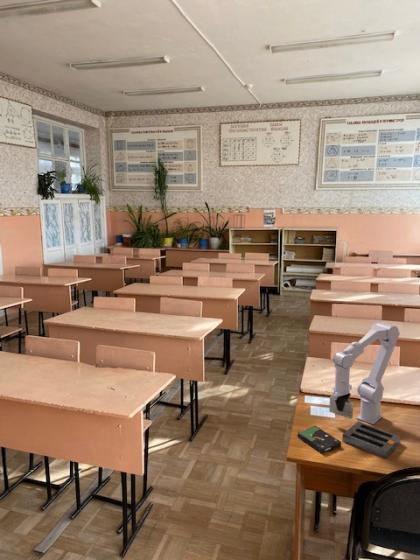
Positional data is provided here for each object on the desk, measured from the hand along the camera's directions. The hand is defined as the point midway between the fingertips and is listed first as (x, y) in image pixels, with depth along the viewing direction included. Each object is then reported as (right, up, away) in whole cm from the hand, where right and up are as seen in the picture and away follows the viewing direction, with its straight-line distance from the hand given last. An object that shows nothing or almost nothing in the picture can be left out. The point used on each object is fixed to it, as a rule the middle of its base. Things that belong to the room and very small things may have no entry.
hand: (341, 409), depth 184 cm
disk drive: (-12, -11, -10) cm, 19 cm away
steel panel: (0, -2, 0) cm, 2 cm away
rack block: (+9, -10, -11) cm, 17 cm away
